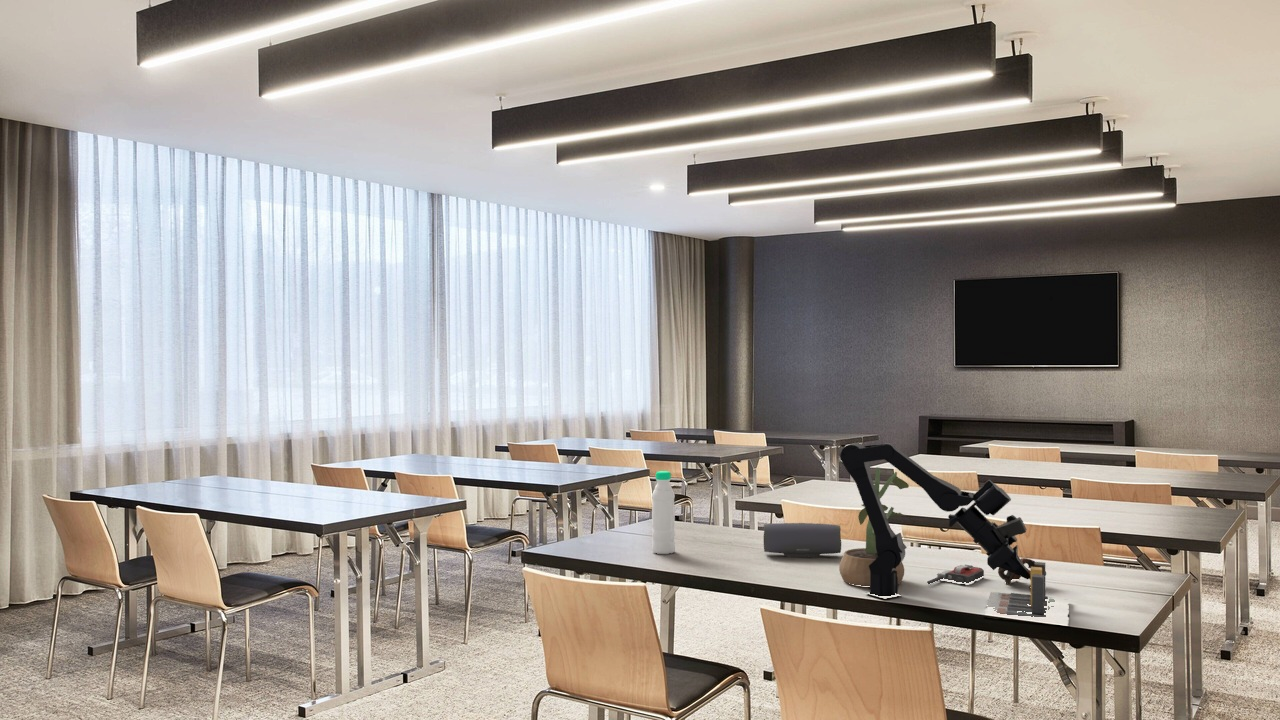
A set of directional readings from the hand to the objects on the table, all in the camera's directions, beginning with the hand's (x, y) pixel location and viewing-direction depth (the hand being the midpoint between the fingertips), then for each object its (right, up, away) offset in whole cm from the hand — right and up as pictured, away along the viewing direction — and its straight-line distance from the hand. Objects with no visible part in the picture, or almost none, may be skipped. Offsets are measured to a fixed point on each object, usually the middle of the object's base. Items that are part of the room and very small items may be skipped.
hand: (1029, 577), depth 221 cm
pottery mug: (+8, -8, +24) cm, 26 cm away
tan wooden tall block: (+1, -7, -1) cm, 7 cm away
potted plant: (-28, -8, +31) cm, 43 cm away
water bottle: (-85, -8, +68) cm, 109 cm away
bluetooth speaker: (-43, -8, +62) cm, 76 cm away
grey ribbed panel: (0, -8, 0) cm, 8 cm away
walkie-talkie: (-7, -8, +29) cm, 31 cm away
